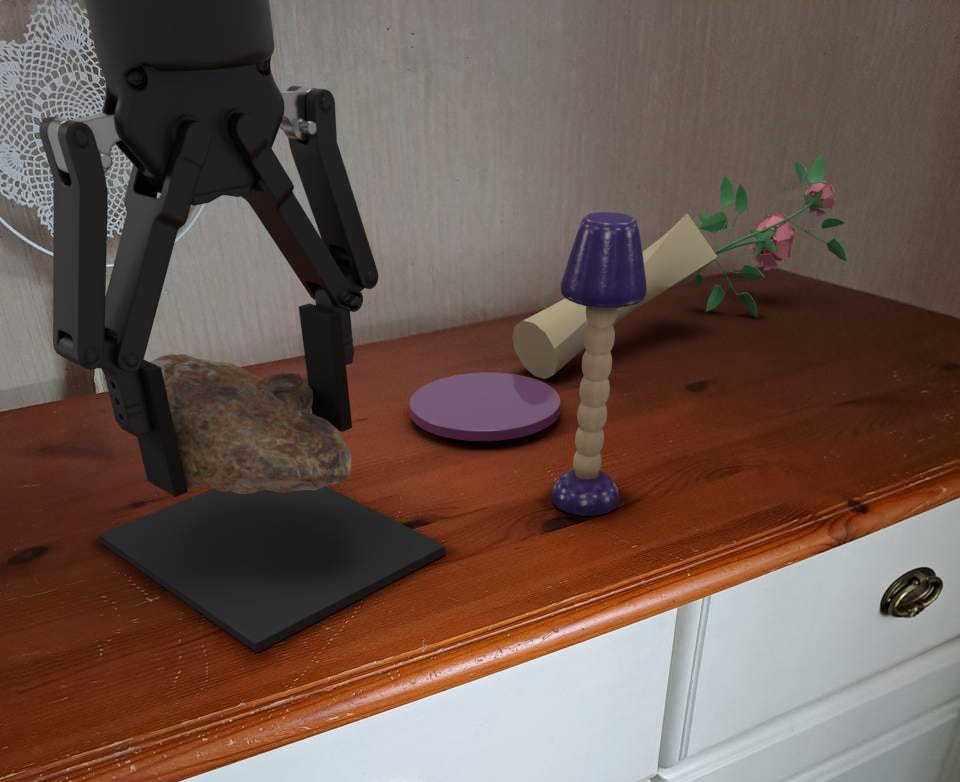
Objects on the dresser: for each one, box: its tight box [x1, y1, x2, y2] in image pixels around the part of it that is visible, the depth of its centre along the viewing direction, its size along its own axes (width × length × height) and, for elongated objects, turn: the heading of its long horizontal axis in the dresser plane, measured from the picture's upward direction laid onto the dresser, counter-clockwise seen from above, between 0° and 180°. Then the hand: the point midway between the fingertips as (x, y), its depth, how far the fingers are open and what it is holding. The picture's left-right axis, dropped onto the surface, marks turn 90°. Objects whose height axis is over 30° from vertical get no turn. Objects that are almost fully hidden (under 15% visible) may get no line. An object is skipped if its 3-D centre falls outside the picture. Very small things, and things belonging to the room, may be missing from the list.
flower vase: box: [511, 152, 849, 380], centre depth 84 cm, size 12×12×35 cm
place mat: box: [98, 485, 447, 653], centre depth 56 cm, size 16×13×1 cm
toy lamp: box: [550, 211, 646, 517], centre depth 55 cm, size 5×5×17 cm
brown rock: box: [150, 353, 353, 494], centre depth 52 cm, size 10×12×5 cm
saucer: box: [409, 372, 562, 442], centre depth 71 cm, size 11×11×1 cm
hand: (254, 453), depth 53 cm, fingers closed on brown rock, 10 cm apart
